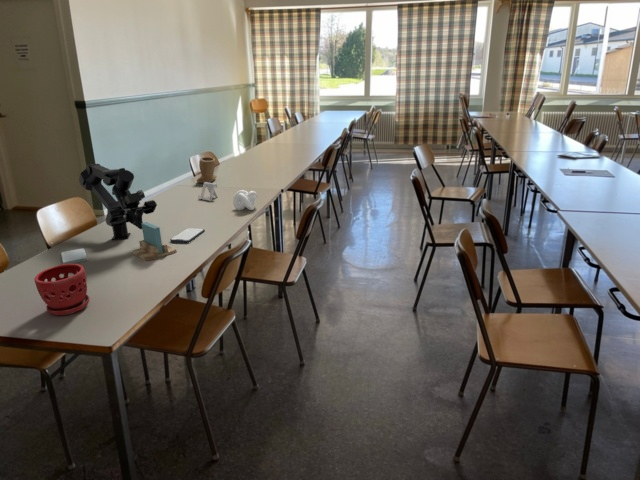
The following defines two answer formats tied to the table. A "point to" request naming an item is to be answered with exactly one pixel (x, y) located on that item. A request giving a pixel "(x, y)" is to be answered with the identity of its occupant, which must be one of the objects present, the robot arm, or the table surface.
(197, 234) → the smartphone
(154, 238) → the panel
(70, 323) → the table surface
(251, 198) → the white knot sculpture
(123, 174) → the robot arm
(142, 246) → the stand
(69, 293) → the plant pot
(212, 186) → the portable electronic device stand
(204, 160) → the stone cup
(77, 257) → the hard drive
